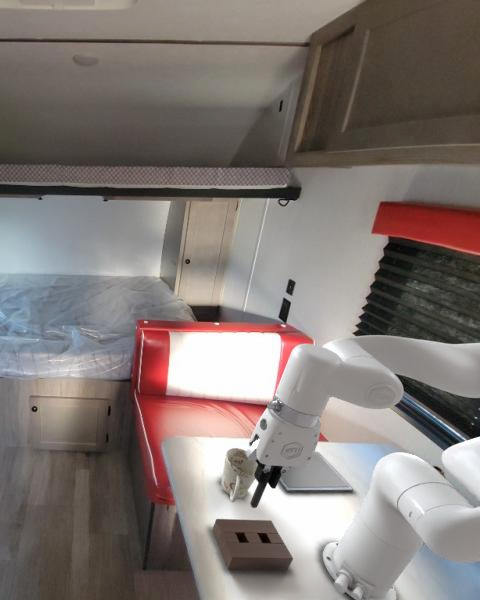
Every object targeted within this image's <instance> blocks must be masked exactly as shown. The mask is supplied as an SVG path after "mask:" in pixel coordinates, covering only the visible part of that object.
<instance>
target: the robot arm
mask: <svg viewBox="0 0 480 600" xmlns="http://www.w3.org/2000/svg"><path fill="white" fill-rule="evenodd" d="M397 375H398V376H403V377H407V378H410V379H412V380H415V381H417V382H420V383H423V384H425V385H427V386H430V387H433V388H435V389H438V390H440V391H444V392H447V393H449V394H453V395H456V396H458V397H459V396H460V397H464V398H469V399H480V342H473V343H447V342H445V343H444V342H439V341H435V340H426V339H418V338H410V337H403V336H395V335H385V334H382V335H381V334H376V335H375V334H373V335H372V334H370V335H357V336H347V337H346V336H345V337H341V338H336V339H332V340H330V341H327V342H326V343H324V344H323V345H322V346H320V345H317V344H312V343H300V344H297V345H296V346H295V347H293V348H292V350H291V352H290V354H289V357H288V359H287V362H286V365H285V368H284V370H283V373H282V375H281V378H280V380H279V383H278V385H277V388H276V390H275V393H274V395H273V398H272V400H271V401H267V403H266V408H265V410H264V412H263V413H262V414H261V416H260V417H259V419H258V421H257V423H256V424H255V426H254V428H253V431H252V433H251V436H250V439H249V442H248V446H249V447H248V448H247V450H245V451H246V452H245V455H246V457H247V459H248V460H250V461H253V462H257V464H258V466H257V468H256V471H255V473H254V476H255V478H256V479H255V481H256V482H257V484H258V483H259V485H260V486H261V488H265V487H266V488H267V486H269V487H270V488H271V489H273V490H275V489H276V488H277V486H278V483H280V482H279V479H280V477H281V474H285V473H286V472H287V470H288V468H290V467H304V466H307V465H308V464H309V463H310V461H311V459H312V456H313V454H314V453H316V449H317V446H318V443H319V440H320V436H321V435H320V434H321V426H322V424H321V423H322V422H321V421H320V420H321V418H322V416H323V414H324V412H325V409H326V407H327V404H328V402H329V401H330V398H335V399H337V400H341V401H344V402H345V403H349V404H352V405H354V406H358V407H361V408H365V409H370V410H386V409H389V408H392V407H394V406H396V405H398V404H399V403H400V402H401V400H402V399H403V397H404V391H405V390H404V386H403V383H402V382H401V380H400V379H399V377H398V376H397ZM441 461H442V464H443V467H444V468H445V469H446V470H447V471H448V473H449V474H450V475H451V476H452V477H453V478H454V479H455V481H456V482H458V483H459V484H460V485H461V487H463V488H464V489H465V490H466V491H467V492H468V493H469V494H470V495H471V496H472V497H473V498H474V499H475V500H476V501H477V502H478V503H480V436H477V437H474V438H471V439H468V440H464V441H461V442H458V443H456V444H453V445H451V446H449V447H448V448H446V449H445V450H443V452H442V455H441ZM272 465H273V466H275V467H274V469H273V472H272V474H271V473H270V472H269V471H270V469H271V466H272ZM432 466H433V465H431V464H430V463H428V462H427V461H426V460H424V459H423V458H421V457H419V456H417V455H414V454H411V453H407V452H399V451H398V452H391V453H389V454H386V455H384V456H383V457H381V458H380V459H379V460H378V462H377V463H376V464H375V466H374V468H373V471H372V476H371V479H370V484H369V489H368V491H367V493H366V496H365V497H364V499H363V501H362V503H361V505H360V506H359V508H358V509H357V511H356V513H355V514H354V516H353V518H352V520H351V521H350V523H349V525H348V526H347V529H346V530H345V532H344V534H343V535H342V537H341V539H340V541H332V542H329V543H327V544H326V546H325V547H324V548H323V551H322V560H323V563H324V566H325V568H326V570H327V572H328V573H329V575H330V577H331V578H332V580H334V582H333V588H334V589H335V590H336V591H337V592H338V593H340V594H345V593H346V594H348V596H349V597H350V598H352V599H353V600H397V598H398V597H397V591H396V587H395V583H396V581H397V580H398V579H399V577H400V576H401V575H402V573H403V572H404V571H405V569H406V568H407V566H409V563H411V561H412V559H414V557H415V556H416V555H417V553H418V551H419V550H420V549H421V548H422V546H423V545H424V544H425V545H426V546H427V547H428V549H430V550H431V552H433V553H434V554H436V555H437V556H438V557H440V558H442V559H443V560H447V561H449V562H452V563H453V562H454V563H459V564H468V563H469V564H470V563H479V562H480V506H476V507H475V506H474V505H473V504H472V503H470V502H469V500H468V499H466V497H464V496H463V495H462V494H461V493H460V491H459V490H458V489H457V488H456V487H455V486H454V485H452V483H451V482H450V481H448V479H447V478H446V479H447V480H446V479H445V478H444V477H443V476H442V475H441V474H440V473H439V472H438V471H437V470H436V469H435V468H434V467H432ZM269 478H270V479H269ZM266 488H265V489H266Z"/></svg>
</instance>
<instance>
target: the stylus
mask: <svg viewBox="0 0 480 600" xmlns="http://www.w3.org/2000/svg"><path fill="white" fill-rule="evenodd" d="M274 467H275V466H273V465H272V466H271V469H270V471H269V472H270V473H271V474H272V472H273V469H274ZM269 479H270V478H269ZM266 488H267V486H266V487H265V488H261V486H260V485H259V483H258V482H257V485H256V488H255V490H254V493H253V495H252V497H251V500H250V502H249V504H250V507H251V508H252V509H256V508H258V507H259V504H260V501H261V499H262V498H263V494H264V492H265V490H266Z"/></svg>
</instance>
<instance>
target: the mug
mask: <svg viewBox="0 0 480 600" xmlns="http://www.w3.org/2000/svg"><path fill="white" fill-rule="evenodd" d="M246 451H247V450H244V449H242V448H237V447H232V448H229V449H228V450H227V451H226V453H225V457H224V463H223V468H222V469H223V470H222V471H223V472H222V477H221V487H222V489H223V490H224V492H225V493H226V494H227V495H228V496H229V501H230V502H231V503H234V502H235V501H236V499H242V498H243V497H244V496H246V494H247V492H248V491H249V489H251V486H252V485H253V483H254V482H255V481H256V478H255V476H254V473H255V471H256V468H257V466H258V464H257V462H253V461H250V460H248V459H247V457H246V455H245V452H246Z"/></svg>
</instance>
